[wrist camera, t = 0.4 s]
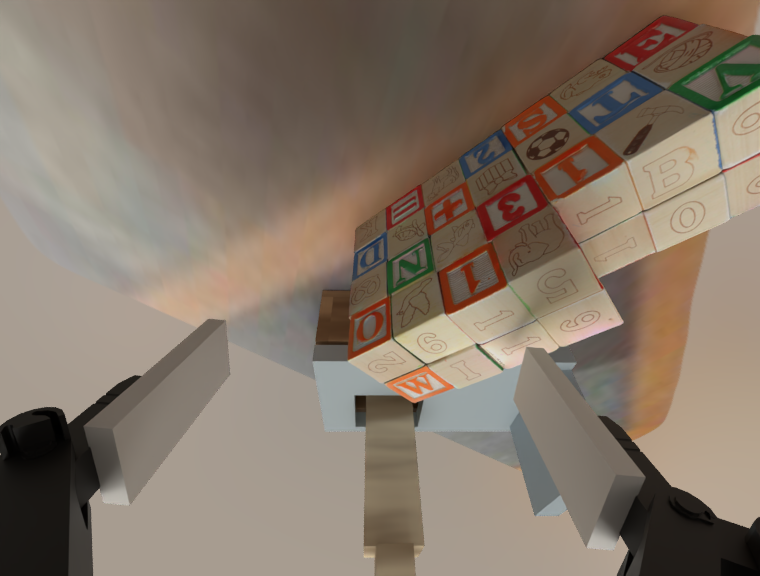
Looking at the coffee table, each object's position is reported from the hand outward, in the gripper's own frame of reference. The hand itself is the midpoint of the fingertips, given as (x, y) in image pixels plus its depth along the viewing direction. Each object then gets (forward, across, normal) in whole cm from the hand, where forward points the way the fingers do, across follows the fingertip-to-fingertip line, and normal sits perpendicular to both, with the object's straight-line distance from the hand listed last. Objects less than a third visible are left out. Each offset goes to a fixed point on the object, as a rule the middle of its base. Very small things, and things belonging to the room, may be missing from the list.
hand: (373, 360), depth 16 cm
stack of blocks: (+13, +7, +8) cm, 17 cm away
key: (+19, +1, -10) cm, 22 cm away
